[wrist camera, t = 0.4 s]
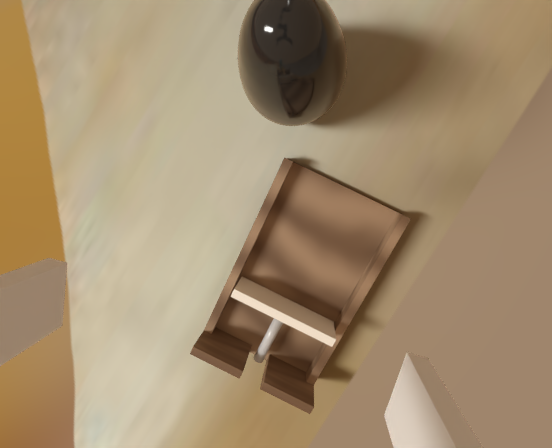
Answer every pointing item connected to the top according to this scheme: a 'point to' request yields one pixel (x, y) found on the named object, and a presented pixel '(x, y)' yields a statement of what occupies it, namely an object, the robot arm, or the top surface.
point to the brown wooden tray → (301, 277)
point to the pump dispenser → (292, 59)
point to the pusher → (282, 315)
